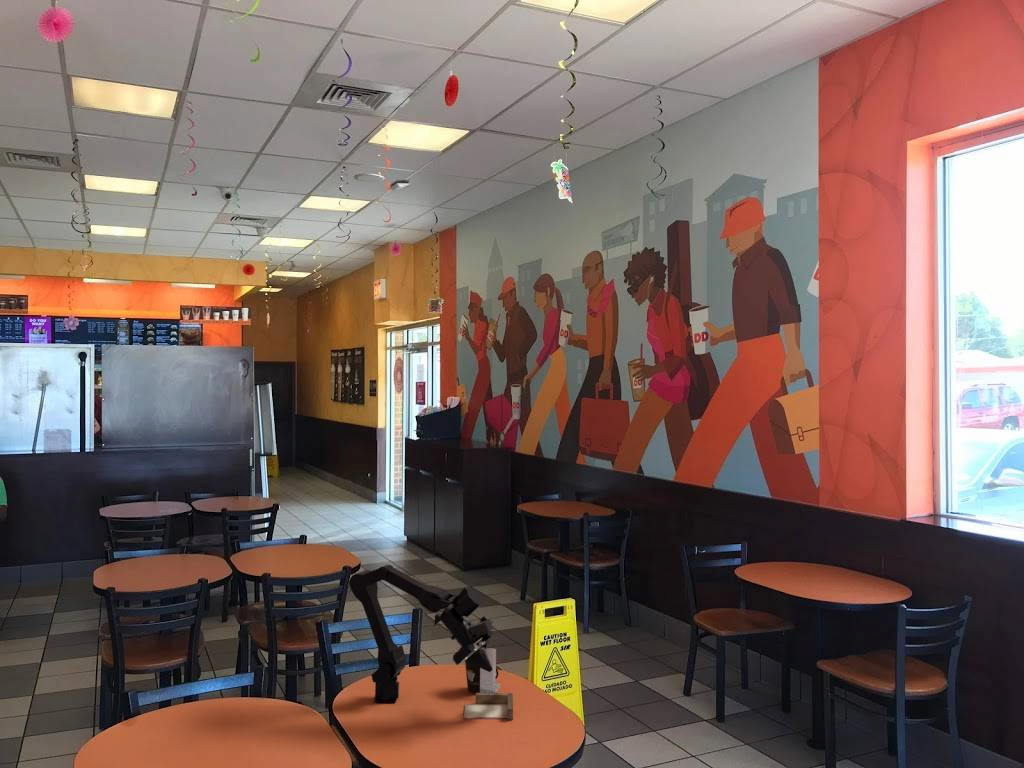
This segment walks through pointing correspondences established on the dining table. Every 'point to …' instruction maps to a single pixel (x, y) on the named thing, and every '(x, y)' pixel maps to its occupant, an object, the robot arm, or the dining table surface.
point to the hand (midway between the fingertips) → (492, 669)
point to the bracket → (489, 673)
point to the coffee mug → (474, 677)
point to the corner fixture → (491, 706)
